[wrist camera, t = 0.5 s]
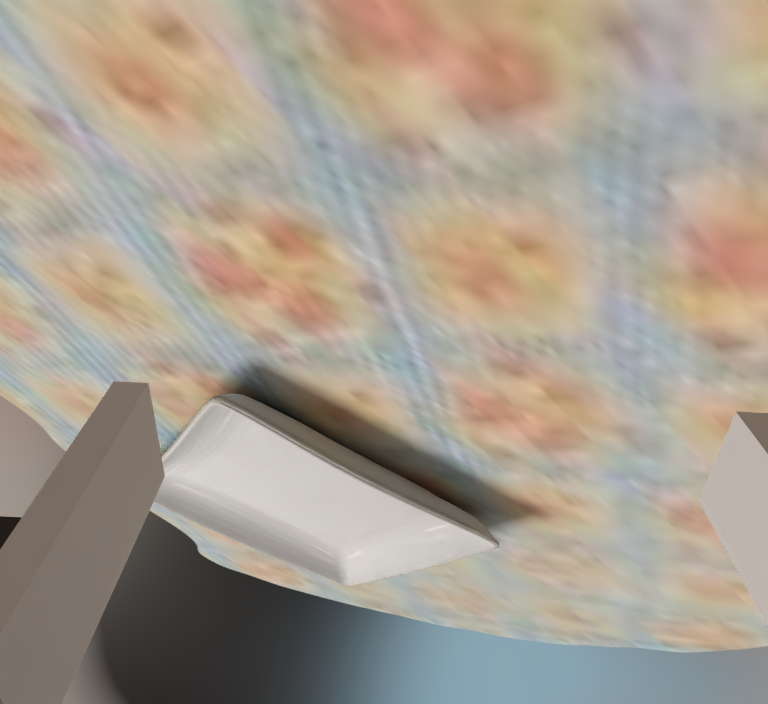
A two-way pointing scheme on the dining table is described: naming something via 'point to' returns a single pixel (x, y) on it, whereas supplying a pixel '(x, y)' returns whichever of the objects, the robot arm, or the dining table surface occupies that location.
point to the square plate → (308, 497)
